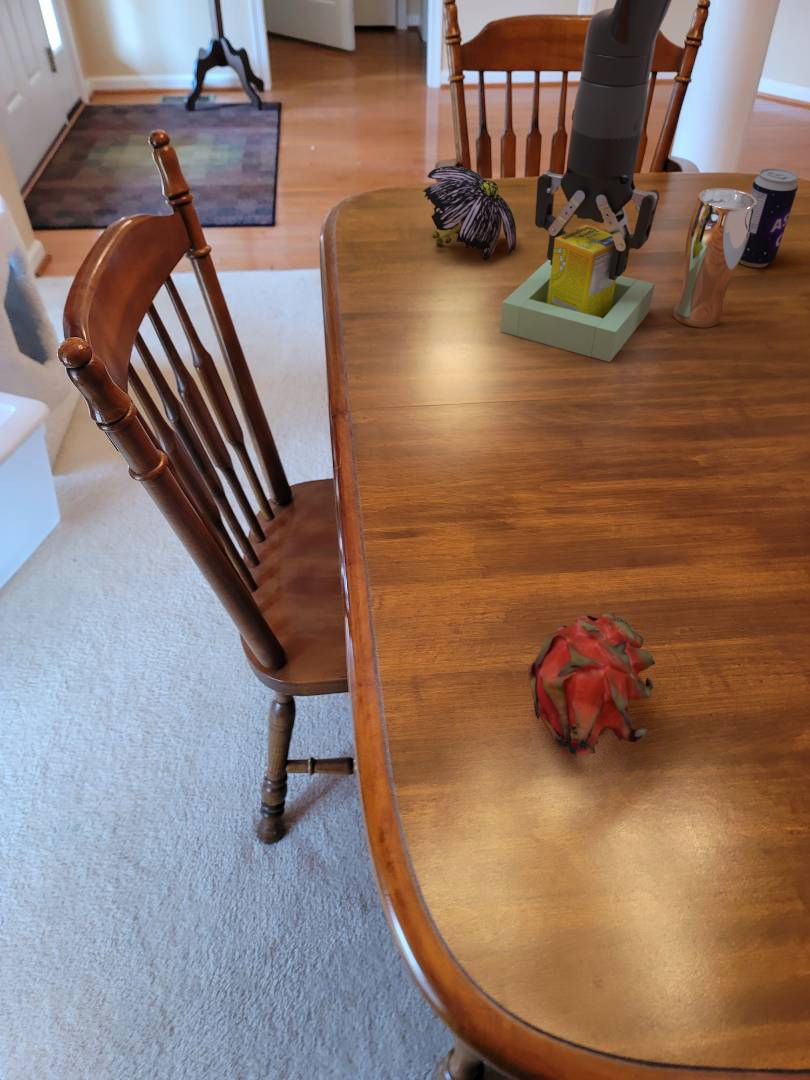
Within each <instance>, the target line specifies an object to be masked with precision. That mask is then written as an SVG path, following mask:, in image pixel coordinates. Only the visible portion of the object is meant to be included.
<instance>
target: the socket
mask: <svg viewBox="0 0 810 1080" xmlns="http://www.w3.org/2000/svg"><path fill="white" fill-rule="evenodd" d="M550 262H551V260H548V259H547V260H546V261H545V262H544V263H543V264H542V265H540V266H539V268H538V269H536V270H535V272H533V273H532V274H531V275H530V276H529V277H527V279H525V281H524V282H523V283H521V284H520V285H519V286H518V287H516V289H515V290H514V291H513V292H512V293H510V295H508V296H507V297H506V298H505V299H504V300H503V301H502V305H501V315H500V327H499V332H500V333H504V334H508V335H512V336H515V337H518V338H522V339H525V340H529V341H533V342H536V343H539V344H542V345H547V346H551V347H554V348H557V349H560V350H564V351H568V352H571V353H575V354H578V355H582V356H586V357H589V358H592V359H597V360H602V361H604V362H608V363H611V361H612V360H613V359H614V358H615V356H616V355H617V354H618V352H619V351H620V350H621V349H622V347H624V345H625V344H626V342H627V341H628V340H629V338H630V337H631V336H632V335H633V334H634V332H635V331H636V330H637V328H638V327H639V326H640V325H641V323H642V322H643V321H644V319H645V318H646V317H647V316H648V314H649V313H650V310H651V304H652V299H653V295H654V290H655V287H656V283H653V282H649V281H645V280H642V279H641V280H640V279H637V278H632V277H628V276H624V275H621V276H620V277H619V276H618V277H617V279H616V283H615V289H614V295H613V300H612V306H611V310H610V312H609V313H608V314H607V315H606V316H605V317H604V318H600V317H596V316H592V315H589V314H585V313H581V312H577V311H573V310H569V309H566V308H562V307H558V306H554V305H550V304H547V300H548V292H549V283H550V276H551V268H552V265H550Z"/></svg>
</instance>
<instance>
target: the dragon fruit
mask: <svg viewBox="0 0 810 1080" xmlns="http://www.w3.org/2000/svg"><path fill="white" fill-rule="evenodd" d="M643 644H644V638H643V637H642V635H640V634H639V633H637V632H636V631H635V630H634V628H633V627H632V626H631V625H629V624H628V623H627V622H626V621H625V620H624V619H623V617H622V616H620V615H617V618H616V615H615V613H613V612H606V613H602V614H601V615H599V616H597V617H596V616H592V615H589V614H581V615H578V616H576V617H575V619H574V623H573V624H572V625H568V626H566V625H560V626H559V627H558V628H557V630H556V632H551V633H548V634H546V635H545V636H544V637H543V639H542V645H541V648H540V650H539V653H538V655H537V656H536V658H535V660H534V661H533V662H532V663H531V664H530V665H529V667H528V669H527V677H528V681H529V686H530V690H531V697H532V700H533V708H534V715H535V718H536V719H537V720H540V719H541V722H542V723H543V725H544V726H545V728H546V729H547V730H548V732H549V733H551V736H552V737H553V739H554V743H556V744H557V745H558V746H559V747H562V746H563V747H565V748H567V749H568V752H569V753H570V754H571V755H573V756H574V758H577V757H579V756H584V755H585V756H586V755H591V754H596V750H595V747H596V745H598V743H599V739H600V737H599V735H600V732H601V731H602V730H603V729H604V728H606V727H607V728H608V729H609V730H611V731H612V732H613V733H614V735H615V736H616V738H617V739H618V740H619V741H622V740H624V741H627V742H631V743H637V742H639V741H640V740H641V739H644V737H645V736H646V734H647V733H648V731H649V729H648V728H644V727H642V728H641V727H640V728H637V729H635V728H633V727H632V726H633V723H634V721H633V718H632V716H630V714H629V704H630V703H629V701H630V700H645V699H650V698H651V697H652V695H653V693H652V690H653V689H654V684H653V681H652V680H651V679H650V678H649V677H646V679H645V682H644V680H643V679H642V678H641V676H640V673H641V672H643V671H645V670H647V669H649V668H650V667H652V666H653V665H656V660H655V659H654V657H653V655H652V654H651V653H650V652H649V651H648V650H646V649H643V648H642V647H643Z"/></svg>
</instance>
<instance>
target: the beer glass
mask: <svg viewBox="0 0 810 1080" xmlns="http://www.w3.org/2000/svg"><path fill="white" fill-rule="evenodd" d="M756 204H757V200H756V199H755V198H754V197H753V196H752V195H750V193H748V192H745V191H742V190H739V189H733V188H726V187H725V188H724V187H714V188H708V189H707V188H706V189H704V190H702V191H701V192H699V193H698V197H697V200H696V204H695V207H694V209H693V213H692V217H691V219H690V222H689V226H688V229H687V230H688V232H687V234H686V235H687V236H686V240H685V248H684V249H685V250H684V260H683V261H684V262H683V277H682V278H683V279H682V284H681V289H680V292H679V295H678V297H677V300H676V302H675V304H674V307H673V309H672V316H673V318H674V319H675V320H676V321H677V322H679V323H681V324H682V325H685V326H687V327H688V326H689V327H692V328H700V329H702V328H703V329H705V328H706V329H707V328H712V327H715V326H717V325H719V324H720V323H721V321H722V319H723V310H724V302H725V301H724V300H725V295H726V292H727V290H728V287H729V285H730V283H731V280H732V279H733V277H734V274H735V272H736V271H737V268H738V266H739V264H740V260H741V258H742V255H743V253H744V251H745V248H746V245H747V242H748V239H749V235H750V231H751V227H752V222H753V218H754V212H755V207H756Z"/></svg>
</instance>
